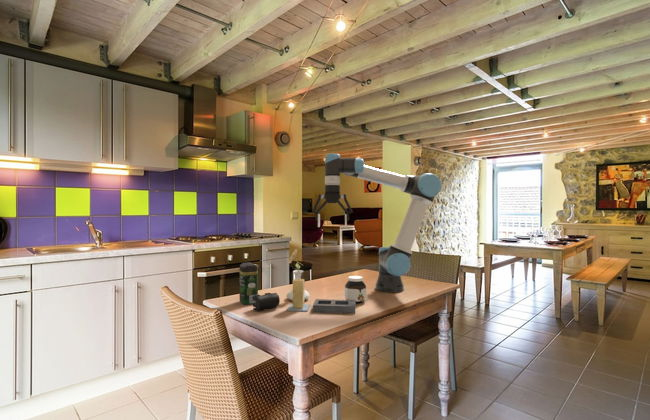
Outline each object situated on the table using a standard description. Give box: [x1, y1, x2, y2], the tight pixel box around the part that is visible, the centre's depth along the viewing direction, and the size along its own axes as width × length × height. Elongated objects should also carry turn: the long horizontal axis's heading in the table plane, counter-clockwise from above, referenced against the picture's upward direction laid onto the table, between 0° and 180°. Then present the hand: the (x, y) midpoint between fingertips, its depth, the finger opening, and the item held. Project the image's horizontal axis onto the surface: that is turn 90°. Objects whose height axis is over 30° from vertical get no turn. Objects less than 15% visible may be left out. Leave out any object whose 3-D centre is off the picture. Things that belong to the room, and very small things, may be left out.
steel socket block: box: [312, 298, 357, 315], centre depth 152 cm, size 18×10×3 cm, turn 84°
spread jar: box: [343, 275, 367, 305], centre depth 167 cm, size 12×11×12 cm
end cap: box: [252, 292, 281, 313], centre depth 152 cm, size 10×7×7 cm
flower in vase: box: [285, 248, 311, 301], centre depth 168 cm, size 13×11×25 cm
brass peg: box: [292, 278, 305, 309], centre depth 153 cm, size 4×4×12 cm
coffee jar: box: [239, 261, 259, 306], centre depth 163 cm, size 10×8×19 cm
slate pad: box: [286, 303, 311, 313], centre depth 154 cm, size 9×9×1 cm
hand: (332, 227), depth 175 cm, fingers open, 13 cm apart
